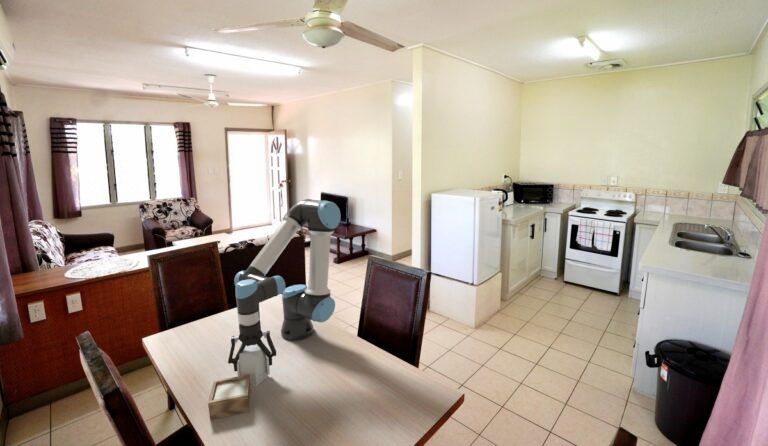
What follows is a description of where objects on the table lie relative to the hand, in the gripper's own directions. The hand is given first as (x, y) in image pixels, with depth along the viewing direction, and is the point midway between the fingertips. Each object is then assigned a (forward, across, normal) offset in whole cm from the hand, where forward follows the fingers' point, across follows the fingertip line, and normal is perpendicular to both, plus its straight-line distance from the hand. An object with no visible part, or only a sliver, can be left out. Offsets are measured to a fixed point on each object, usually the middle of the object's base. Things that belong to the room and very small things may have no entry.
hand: (254, 375), depth 138 cm
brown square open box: (+2, +7, +12) cm, 14 cm away
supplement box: (+2, 0, 0) cm, 2 cm away
